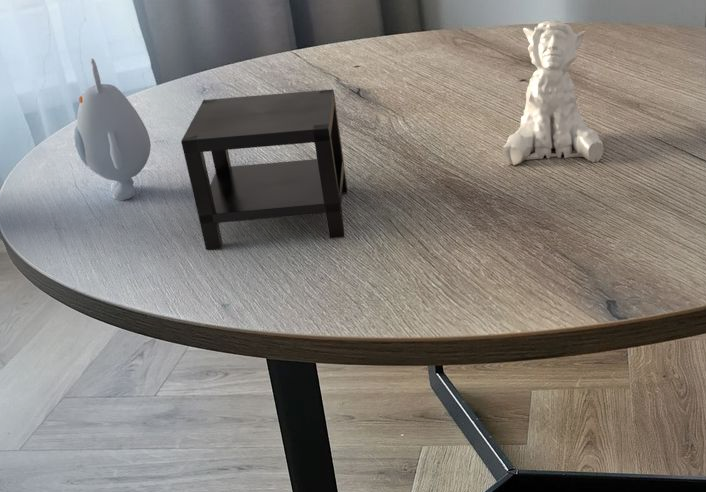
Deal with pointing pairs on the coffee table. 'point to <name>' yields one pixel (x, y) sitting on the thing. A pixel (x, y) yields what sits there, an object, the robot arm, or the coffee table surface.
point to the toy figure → (111, 136)
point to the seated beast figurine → (552, 101)
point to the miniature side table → (270, 178)
